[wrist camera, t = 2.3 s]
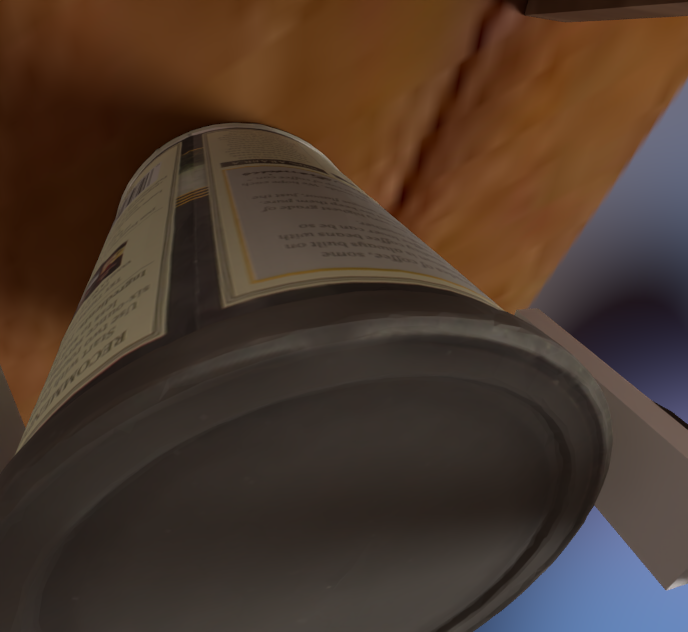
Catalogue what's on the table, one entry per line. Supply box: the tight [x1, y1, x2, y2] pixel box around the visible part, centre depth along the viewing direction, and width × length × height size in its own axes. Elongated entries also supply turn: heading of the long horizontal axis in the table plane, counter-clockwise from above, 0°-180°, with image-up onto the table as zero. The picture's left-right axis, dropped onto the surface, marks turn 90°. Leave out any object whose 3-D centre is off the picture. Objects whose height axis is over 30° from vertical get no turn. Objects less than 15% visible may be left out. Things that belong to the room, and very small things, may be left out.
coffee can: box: [0, 123, 613, 632], centre depth 13 cm, size 10×10×14 cm
